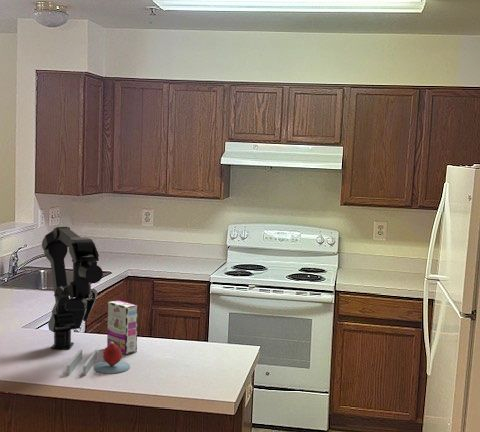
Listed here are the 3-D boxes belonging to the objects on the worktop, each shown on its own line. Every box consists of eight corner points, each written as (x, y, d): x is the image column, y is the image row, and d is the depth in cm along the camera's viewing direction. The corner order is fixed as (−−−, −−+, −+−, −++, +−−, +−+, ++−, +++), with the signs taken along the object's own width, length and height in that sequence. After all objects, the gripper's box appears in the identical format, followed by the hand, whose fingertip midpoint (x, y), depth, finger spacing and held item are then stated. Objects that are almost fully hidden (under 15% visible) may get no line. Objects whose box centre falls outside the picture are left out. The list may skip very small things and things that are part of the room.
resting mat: (99, 361, 216) (99, 360, 216) (132, 362, 216) (132, 361, 215) (91, 373, 205) (91, 371, 205) (126, 374, 205) (126, 372, 205)
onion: (122, 363, 213) (123, 339, 212) (119, 369, 207) (120, 344, 206) (104, 362, 213) (105, 338, 212) (101, 368, 207) (101, 344, 206)
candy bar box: (137, 352, 227) (138, 305, 225) (126, 355, 223) (126, 307, 222) (118, 344, 235) (118, 299, 233) (106, 347, 231) (107, 301, 229)
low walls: (79, 358, 218) (79, 349, 218) (97, 359, 218) (97, 350, 218) (66, 374, 202) (66, 365, 202) (85, 375, 202) (85, 366, 202)
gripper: (64, 271, 223) (64, 316, 224) (48, 282, 204) (48, 331, 206) (97, 272, 223) (97, 317, 224) (84, 283, 204) (83, 333, 206)
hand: (81, 324), depth 215 cm, fingers open, 9 cm apart
